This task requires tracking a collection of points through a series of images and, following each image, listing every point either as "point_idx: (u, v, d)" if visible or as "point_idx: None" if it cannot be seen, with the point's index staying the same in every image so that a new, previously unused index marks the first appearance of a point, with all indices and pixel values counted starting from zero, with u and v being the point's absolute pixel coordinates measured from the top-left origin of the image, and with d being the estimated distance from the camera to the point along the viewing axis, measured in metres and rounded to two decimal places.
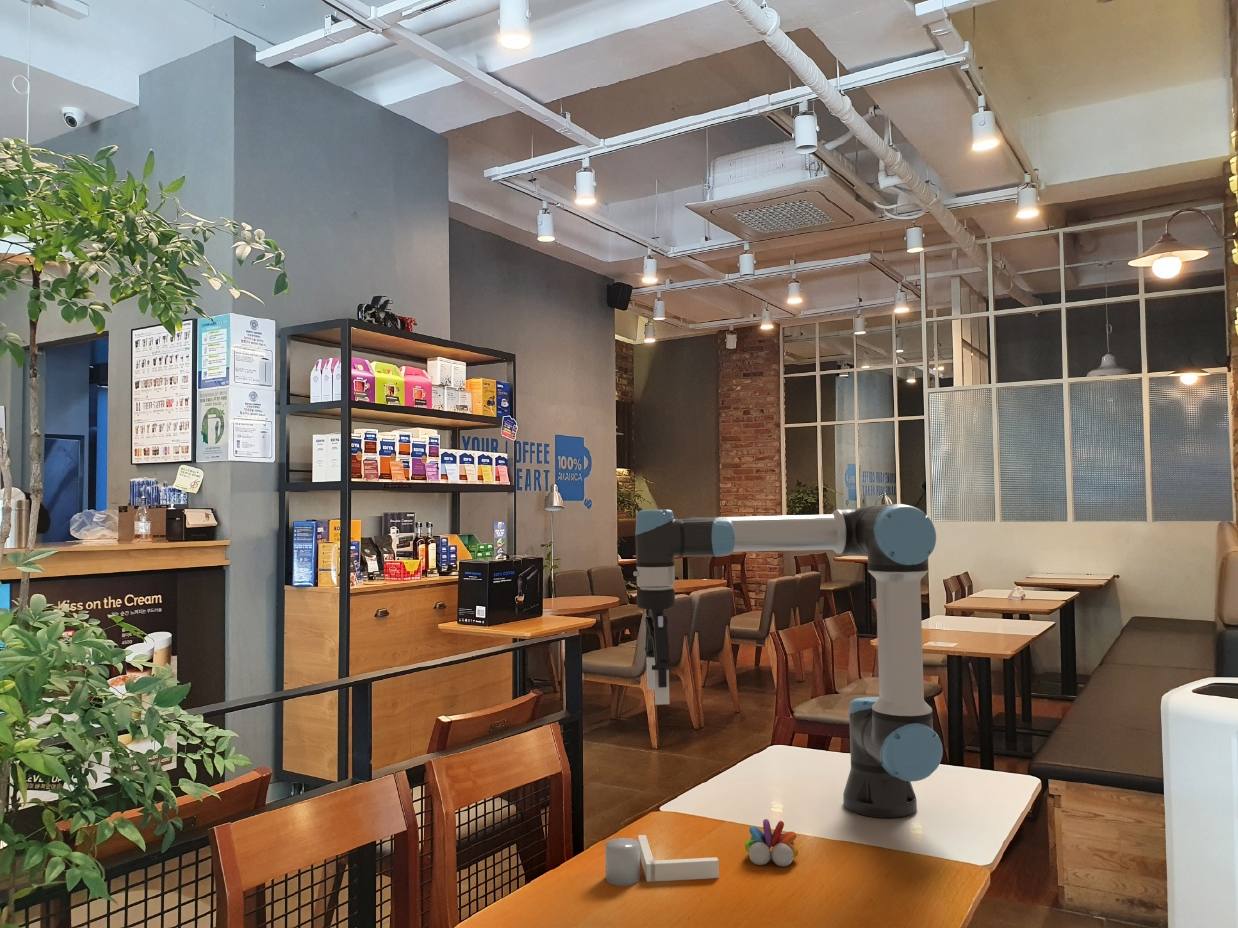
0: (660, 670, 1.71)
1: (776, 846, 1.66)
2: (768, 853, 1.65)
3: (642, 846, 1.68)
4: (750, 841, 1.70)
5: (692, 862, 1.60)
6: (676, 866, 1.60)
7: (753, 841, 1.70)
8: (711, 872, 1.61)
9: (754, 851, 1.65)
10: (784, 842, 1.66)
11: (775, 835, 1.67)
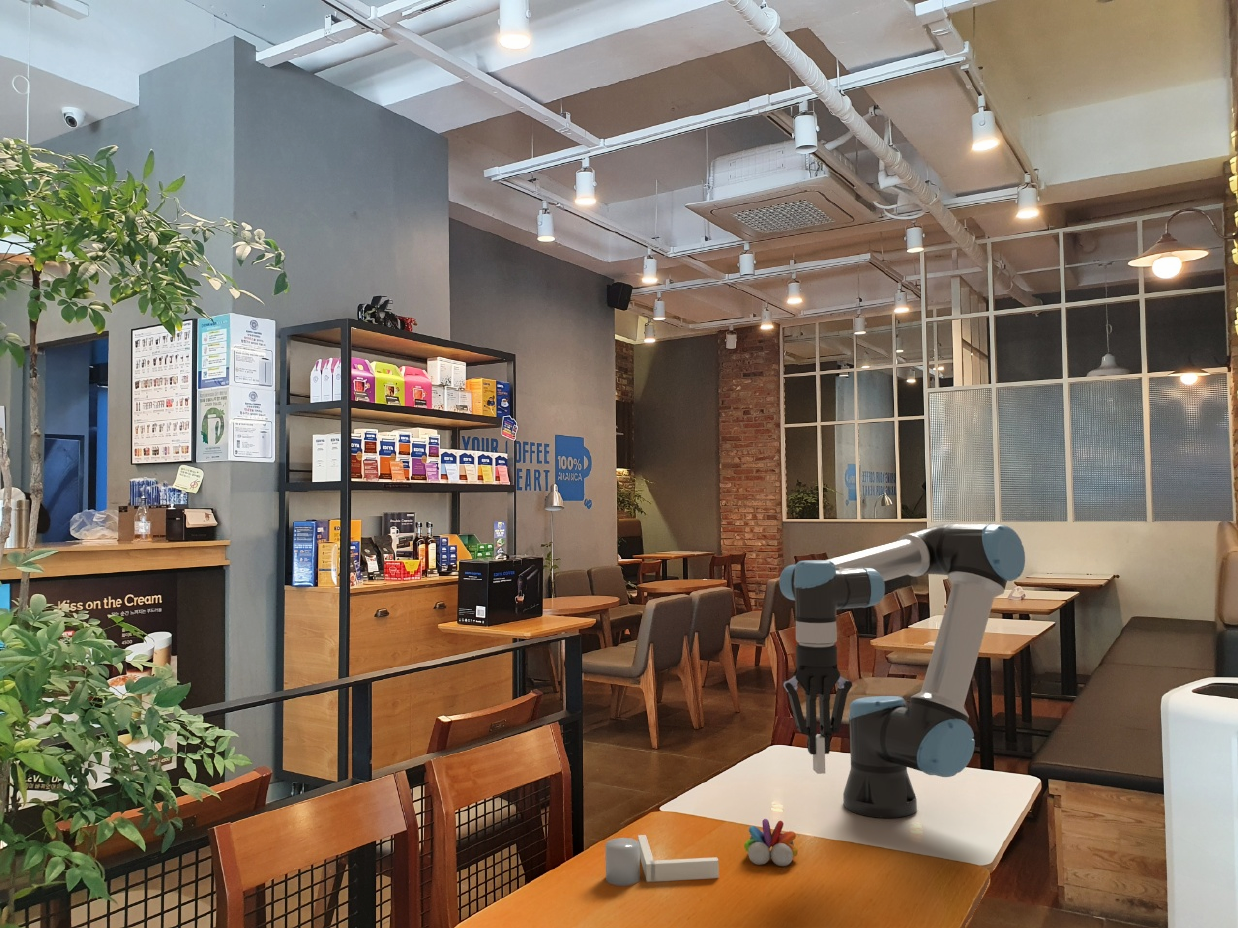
0: (807, 735, 1.70)
1: (775, 846, 1.66)
2: (767, 853, 1.65)
3: (642, 846, 1.68)
4: (749, 841, 1.70)
5: (692, 862, 1.60)
6: (676, 866, 1.60)
7: (752, 841, 1.70)
8: (711, 872, 1.61)
9: (754, 851, 1.65)
10: (783, 842, 1.66)
11: (774, 835, 1.67)
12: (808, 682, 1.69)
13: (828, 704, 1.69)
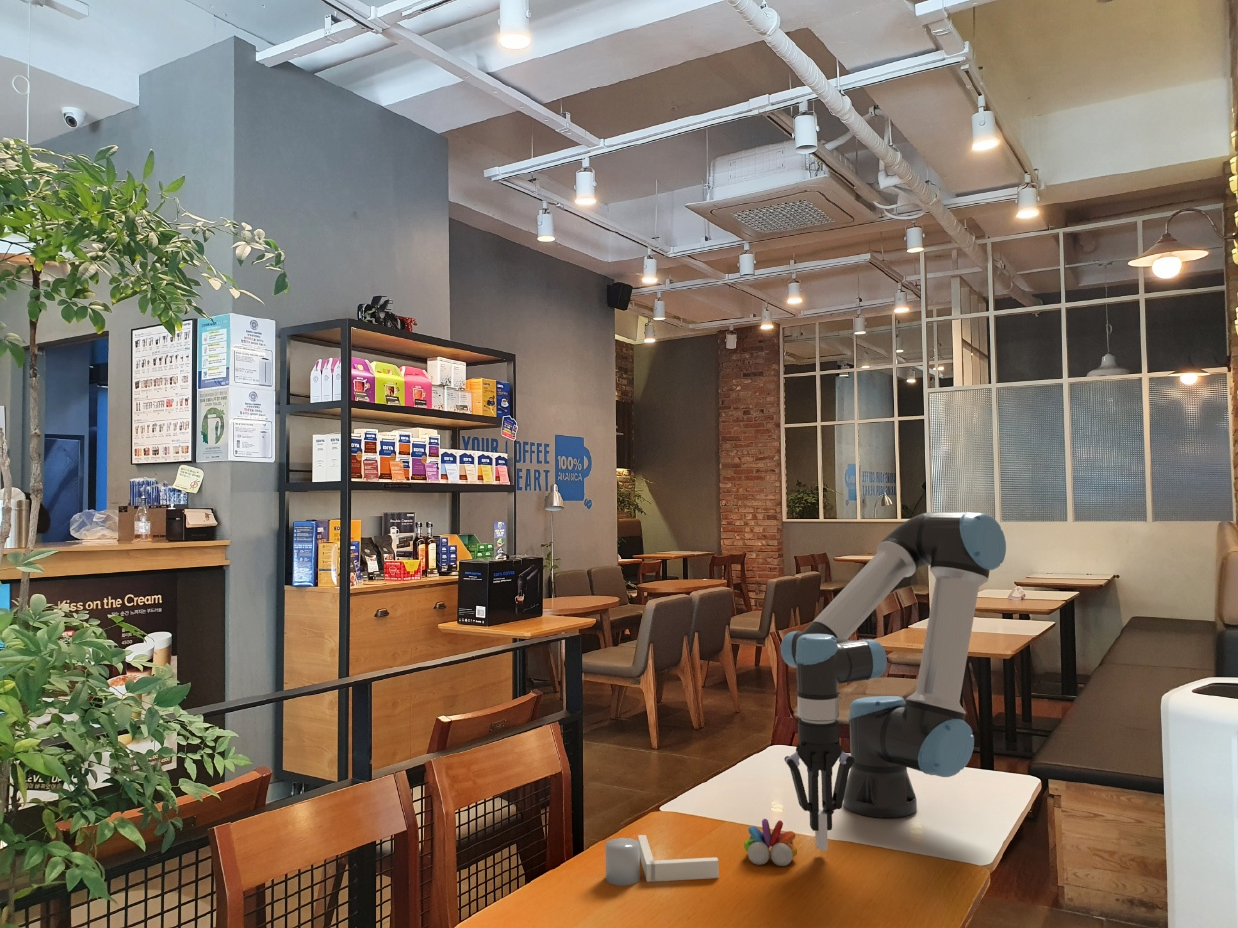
0: (809, 811, 1.70)
1: (775, 846, 1.66)
2: (767, 853, 1.66)
3: (642, 846, 1.68)
4: (749, 841, 1.70)
5: (692, 862, 1.60)
6: (676, 866, 1.60)
7: (752, 841, 1.70)
8: (711, 872, 1.61)
9: (753, 851, 1.65)
10: (783, 842, 1.66)
11: (774, 835, 1.67)
12: (810, 758, 1.69)
13: (830, 780, 1.69)
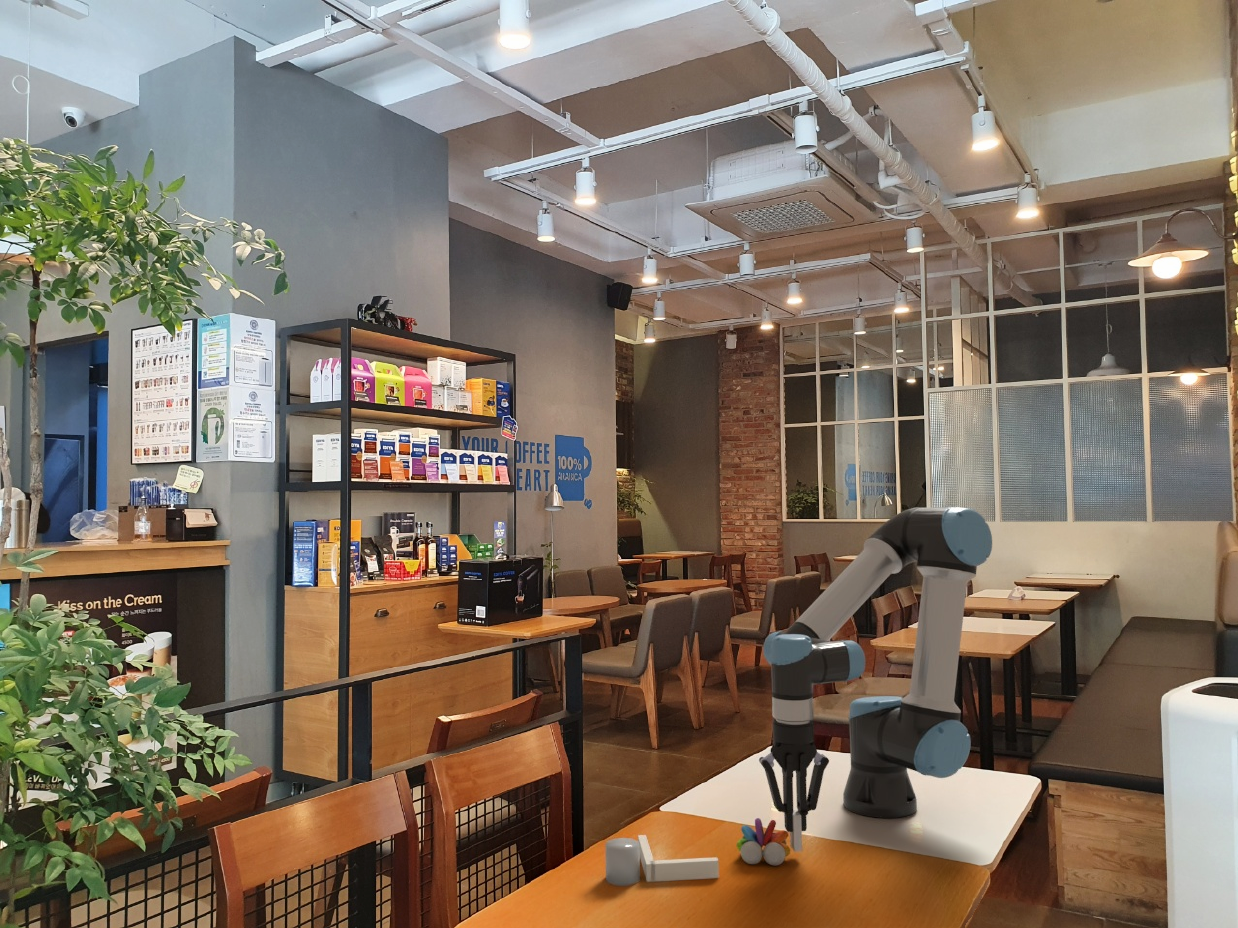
0: (784, 812, 1.69)
1: (768, 845, 1.66)
2: (760, 852, 1.65)
3: (642, 846, 1.68)
4: (742, 840, 1.70)
5: (692, 862, 1.60)
6: (676, 866, 1.60)
7: (745, 840, 1.70)
8: (711, 872, 1.61)
9: (746, 850, 1.65)
10: (776, 841, 1.66)
11: (767, 834, 1.67)
12: (785, 759, 1.68)
13: (805, 781, 1.68)
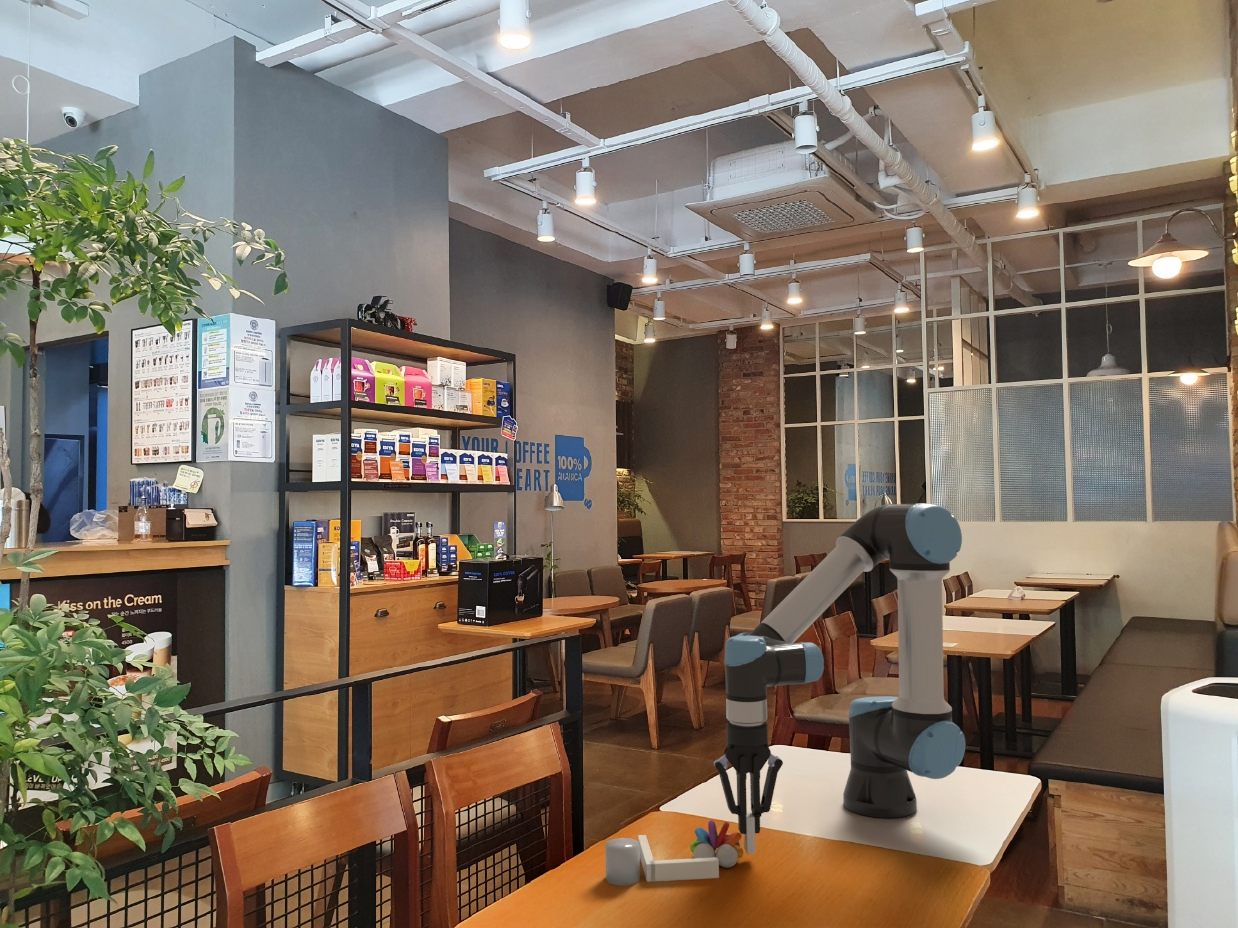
0: None
1: (720, 847, 1.65)
2: (712, 854, 1.65)
3: (642, 846, 1.68)
4: (696, 842, 1.69)
5: (692, 862, 1.60)
6: (676, 866, 1.60)
7: (699, 842, 1.69)
8: (711, 872, 1.61)
9: (698, 853, 1.65)
10: (729, 843, 1.66)
11: (720, 836, 1.66)
12: (738, 761, 1.68)
13: (758, 783, 1.68)
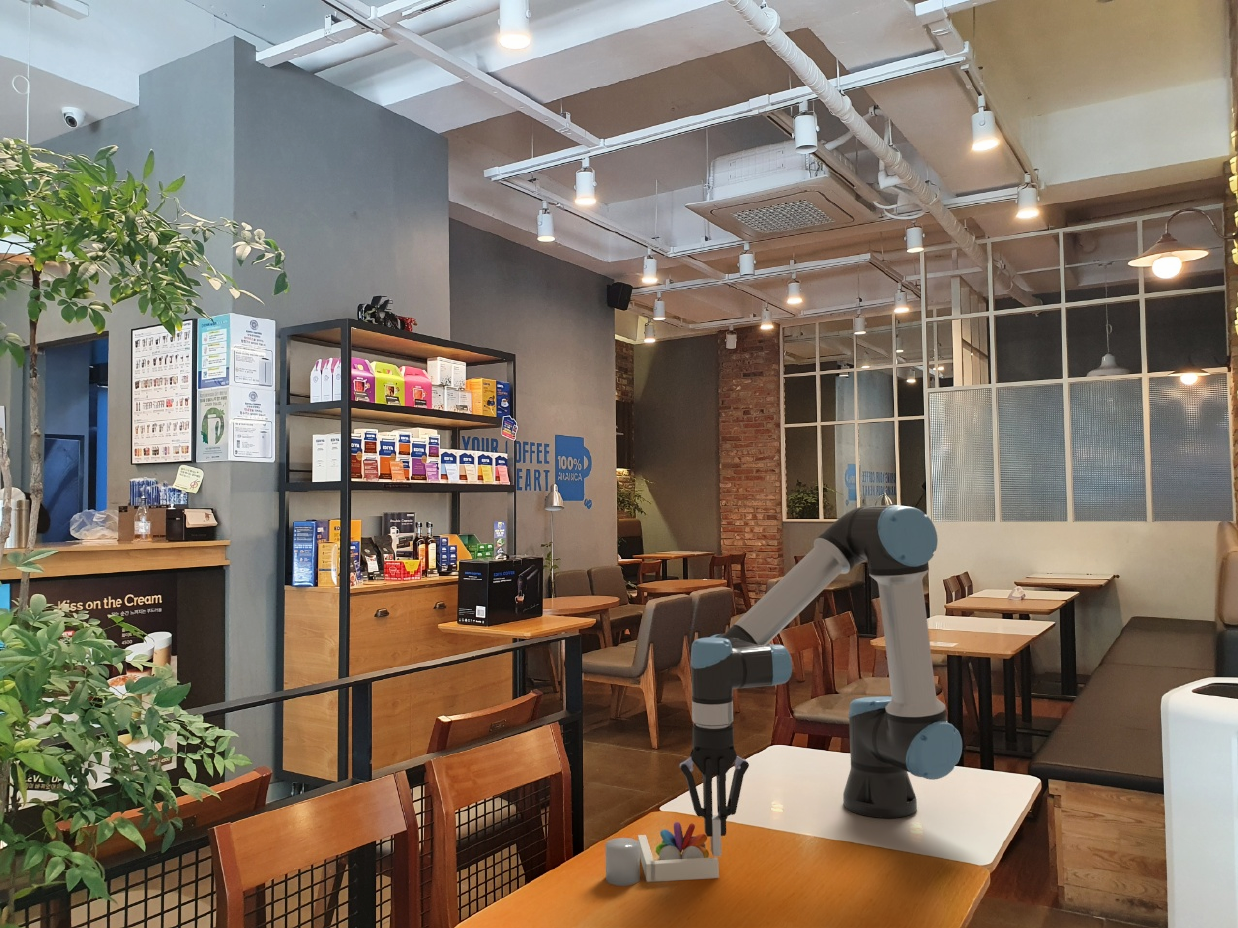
0: None
1: (686, 849, 1.65)
2: (678, 856, 1.64)
3: (642, 846, 1.68)
4: (661, 844, 1.69)
5: (692, 862, 1.60)
6: (676, 866, 1.60)
7: (664, 844, 1.69)
8: (711, 872, 1.61)
9: (664, 855, 1.64)
10: (694, 845, 1.65)
11: (686, 838, 1.66)
12: (704, 763, 1.67)
13: (724, 785, 1.67)
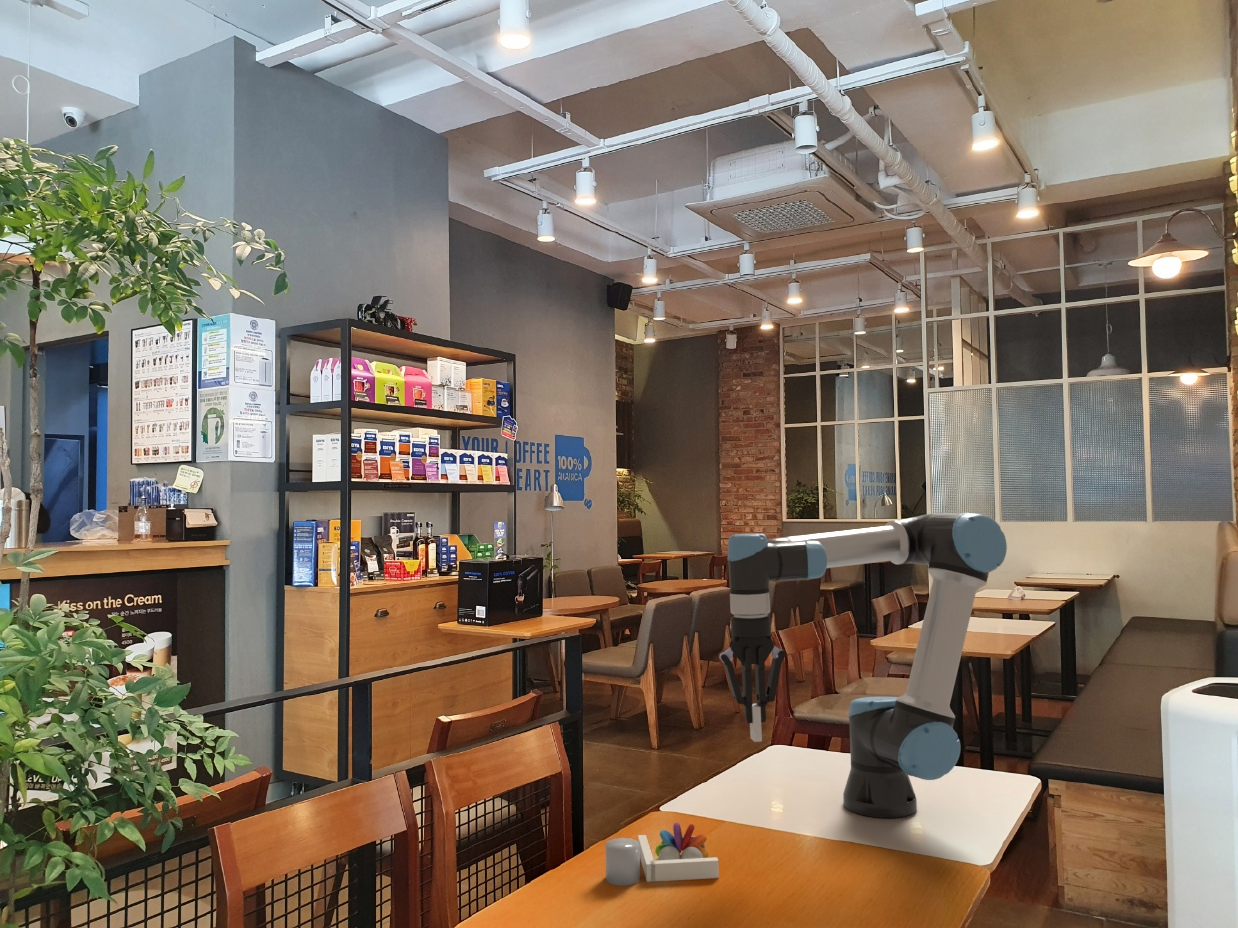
0: None
1: (686, 850, 1.65)
2: (678, 857, 1.64)
3: (642, 846, 1.68)
4: (661, 845, 1.69)
5: (692, 862, 1.60)
6: (676, 866, 1.60)
7: (664, 845, 1.69)
8: (711, 872, 1.61)
9: (664, 856, 1.64)
10: (694, 845, 1.65)
11: (685, 838, 1.66)
12: (743, 653, 1.73)
13: (763, 674, 1.73)
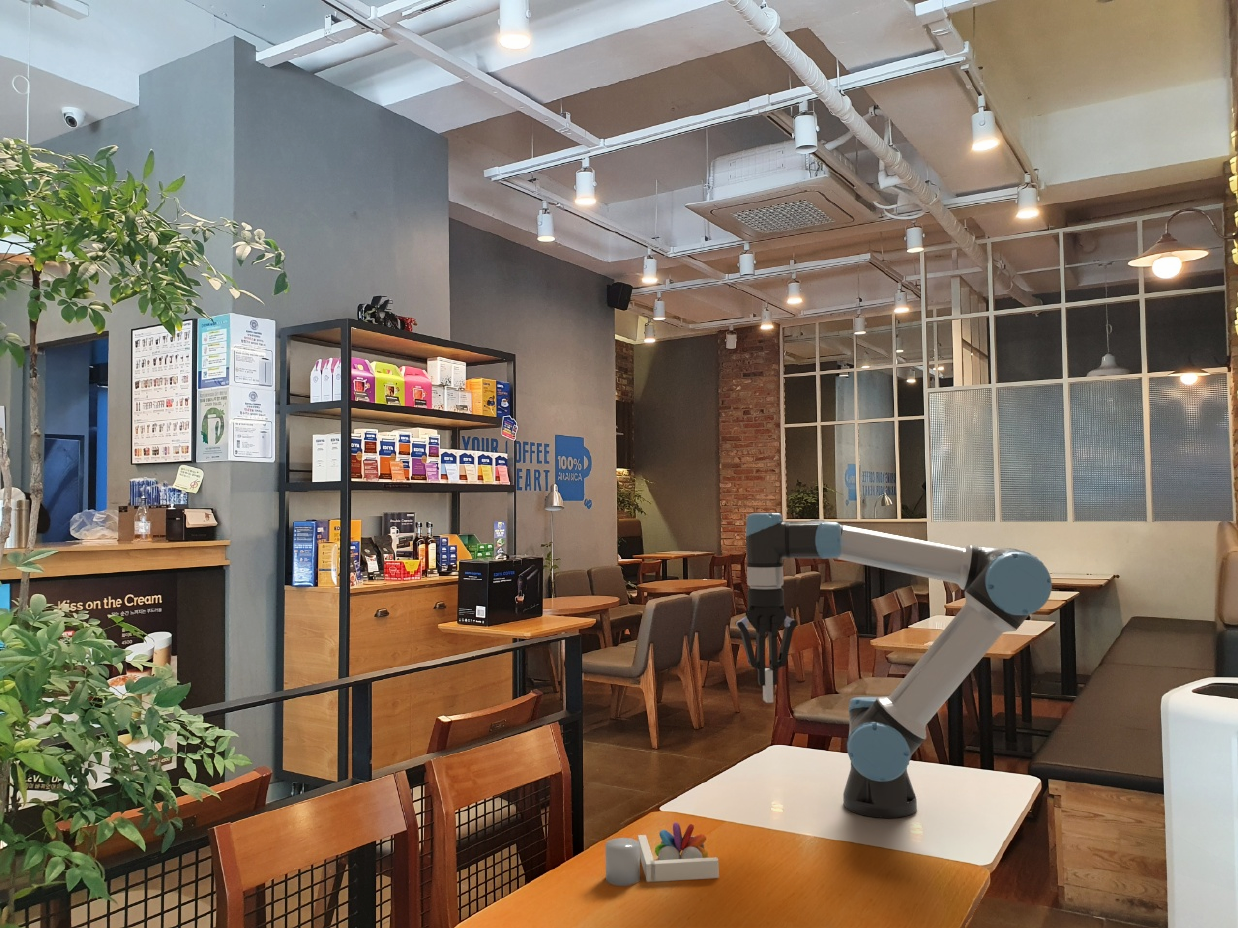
0: (757, 669, 1.90)
1: (685, 849, 1.65)
2: (677, 857, 1.64)
3: (642, 846, 1.68)
4: (660, 845, 1.69)
5: (692, 862, 1.60)
6: (676, 866, 1.60)
7: (663, 845, 1.69)
8: (711, 872, 1.61)
9: (663, 855, 1.64)
10: (693, 845, 1.65)
11: (685, 838, 1.66)
12: (758, 621, 1.89)
13: (776, 640, 1.89)
